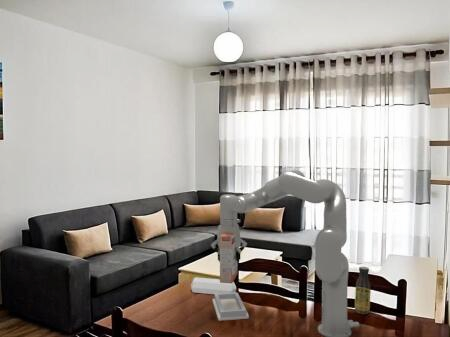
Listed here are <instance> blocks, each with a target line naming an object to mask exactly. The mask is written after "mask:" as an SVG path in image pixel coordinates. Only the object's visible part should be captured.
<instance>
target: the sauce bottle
mask: <svg viewBox="0 0 450 337" xmlns="http://www.w3.org/2000/svg"><path fill="white" fill-rule="evenodd" d="M369 272H370V268H369V267H367V266H359V267H358V275H359V276H358V278H357V279H356V280H355V282H356V283H355V292H354V293H355V296H354V311H355V312H356V313H357V314H360V315H368V314H369V313H370V309H371V293H372V292H371V291H372V290H371V287H372V286H371V281H370V279H369Z"/></svg>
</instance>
